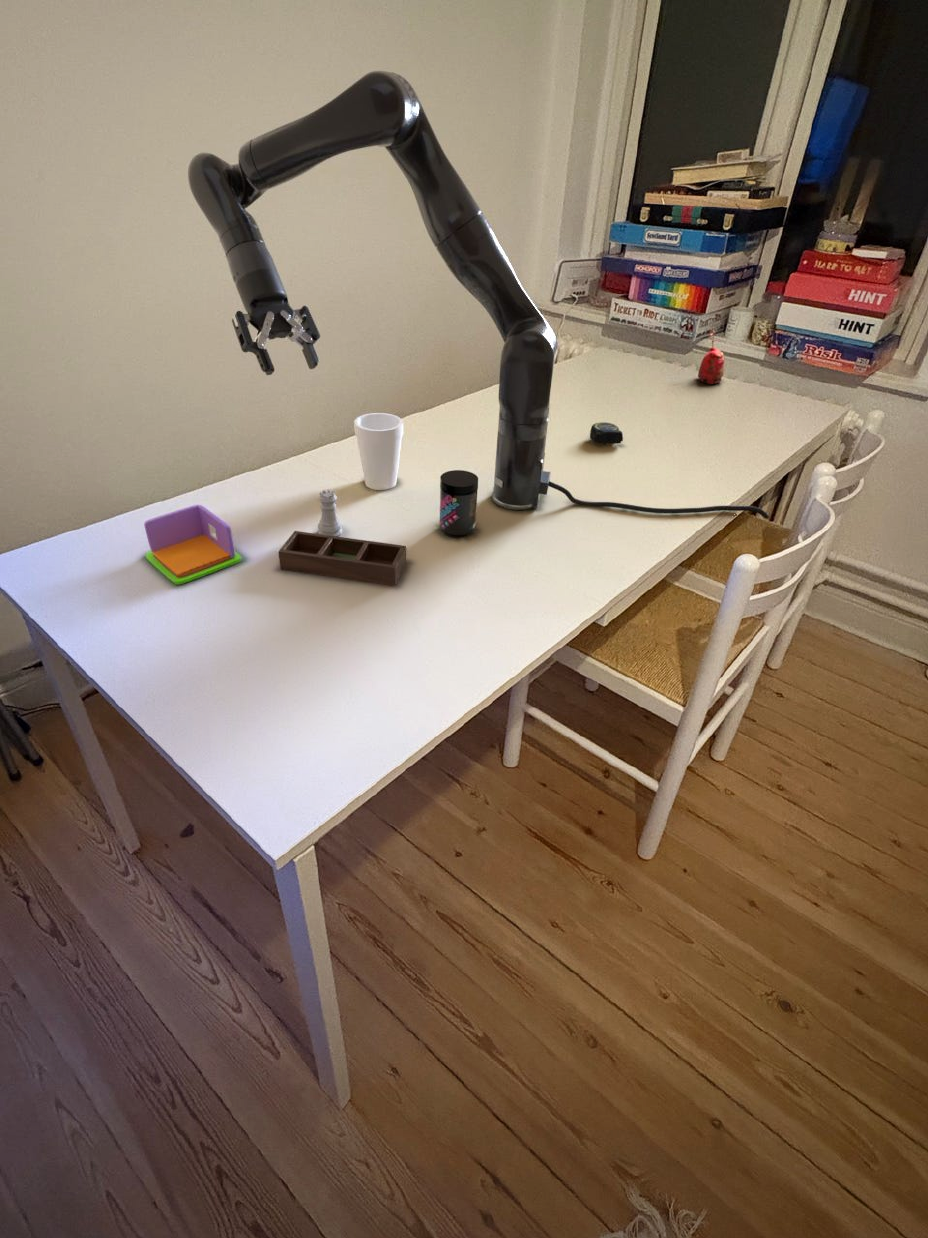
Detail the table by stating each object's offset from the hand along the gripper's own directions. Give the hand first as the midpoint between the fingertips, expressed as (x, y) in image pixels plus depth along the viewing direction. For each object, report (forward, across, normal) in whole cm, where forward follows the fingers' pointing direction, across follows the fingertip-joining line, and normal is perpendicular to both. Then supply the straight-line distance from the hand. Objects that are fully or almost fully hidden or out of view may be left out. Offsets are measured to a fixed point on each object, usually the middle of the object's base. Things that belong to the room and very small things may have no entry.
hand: (293, 370), depth 119 cm
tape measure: (+28, +72, -1) cm, 77 cm away
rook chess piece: (+28, -2, +6) cm, 29 cm away
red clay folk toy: (+19, +135, +5) cm, 137 cm away
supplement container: (+36, +16, -6) cm, 40 cm away
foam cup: (+21, +17, +13) cm, 30 cm away
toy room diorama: (+25, -25, +12) cm, 37 cm away
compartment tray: (+35, -7, -3) cm, 36 cm away
